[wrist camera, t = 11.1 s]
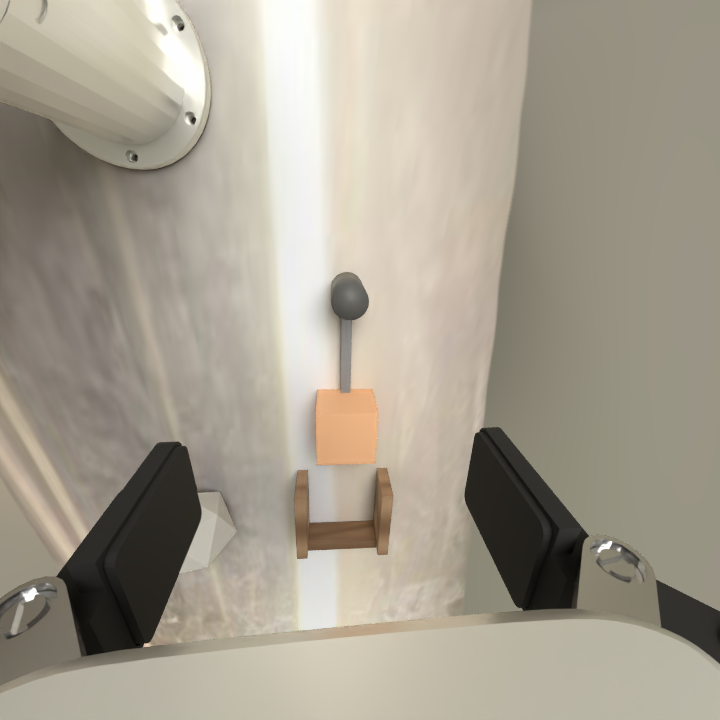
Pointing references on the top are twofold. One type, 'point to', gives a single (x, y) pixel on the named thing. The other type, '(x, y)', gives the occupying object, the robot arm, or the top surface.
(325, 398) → the block
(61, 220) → the top surface
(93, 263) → the top surface
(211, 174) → the top surface
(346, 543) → the shelf lane
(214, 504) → the die
